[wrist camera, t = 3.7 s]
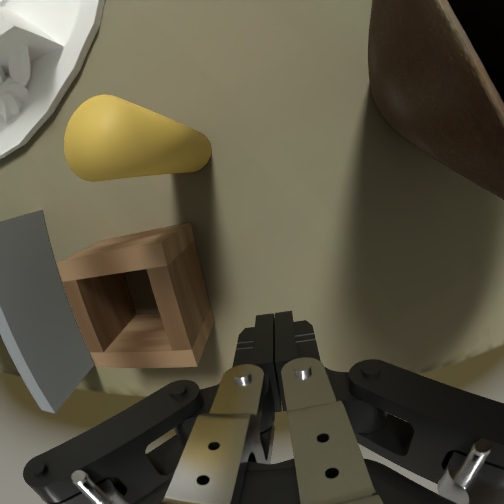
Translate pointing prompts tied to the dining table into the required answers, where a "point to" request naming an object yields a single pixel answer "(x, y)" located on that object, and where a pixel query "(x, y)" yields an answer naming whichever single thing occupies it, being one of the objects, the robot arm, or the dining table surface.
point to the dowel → (129, 142)
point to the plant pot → (443, 81)
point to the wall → (38, 314)
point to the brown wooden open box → (121, 307)
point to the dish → (40, 60)
